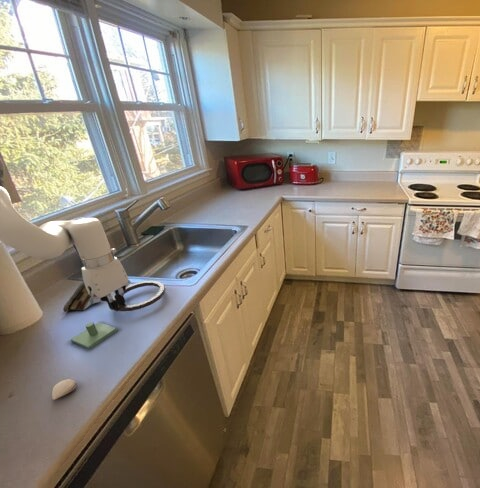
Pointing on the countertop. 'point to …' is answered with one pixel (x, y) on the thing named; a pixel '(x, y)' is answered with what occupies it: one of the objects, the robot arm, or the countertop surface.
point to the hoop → (145, 303)
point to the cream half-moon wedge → (63, 388)
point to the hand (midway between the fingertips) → (118, 307)
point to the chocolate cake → (79, 299)
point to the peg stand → (93, 334)
